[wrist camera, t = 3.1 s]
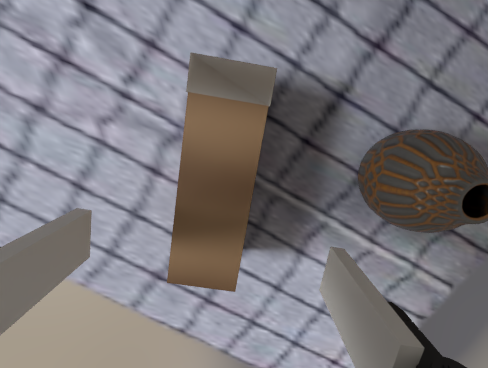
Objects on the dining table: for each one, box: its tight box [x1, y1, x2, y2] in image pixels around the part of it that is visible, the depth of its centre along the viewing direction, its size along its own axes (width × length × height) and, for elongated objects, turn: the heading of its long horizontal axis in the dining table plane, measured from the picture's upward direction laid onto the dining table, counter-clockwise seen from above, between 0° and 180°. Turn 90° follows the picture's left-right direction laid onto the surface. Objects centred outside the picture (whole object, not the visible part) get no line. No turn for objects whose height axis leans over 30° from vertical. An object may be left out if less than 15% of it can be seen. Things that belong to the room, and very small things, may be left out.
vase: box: [358, 130, 488, 233], centre depth 18 cm, size 7×7×9 cm
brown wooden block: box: [167, 53, 277, 292], centre depth 19 cm, size 14×5×6 cm, turn 171°
